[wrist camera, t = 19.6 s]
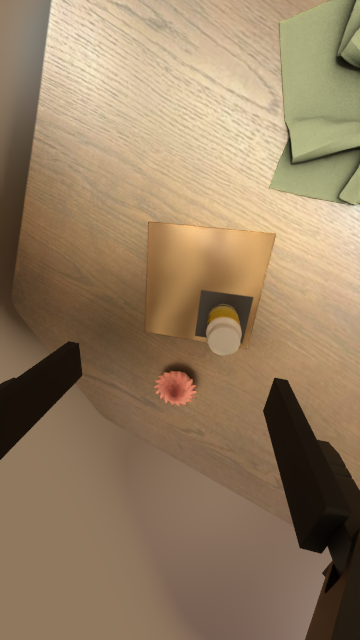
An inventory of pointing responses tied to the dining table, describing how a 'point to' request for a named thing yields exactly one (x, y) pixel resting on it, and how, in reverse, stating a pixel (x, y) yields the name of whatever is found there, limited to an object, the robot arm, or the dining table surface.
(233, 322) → the supplement bottle
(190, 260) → the board
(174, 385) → the pink ruffled round piece
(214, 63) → the dining table surface
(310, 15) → the cloth
